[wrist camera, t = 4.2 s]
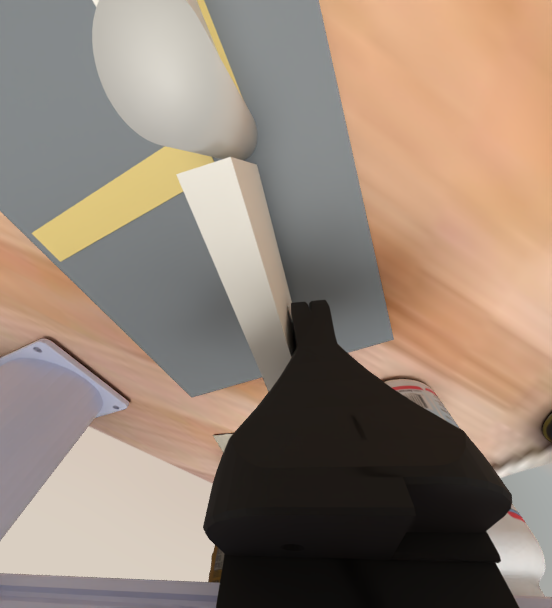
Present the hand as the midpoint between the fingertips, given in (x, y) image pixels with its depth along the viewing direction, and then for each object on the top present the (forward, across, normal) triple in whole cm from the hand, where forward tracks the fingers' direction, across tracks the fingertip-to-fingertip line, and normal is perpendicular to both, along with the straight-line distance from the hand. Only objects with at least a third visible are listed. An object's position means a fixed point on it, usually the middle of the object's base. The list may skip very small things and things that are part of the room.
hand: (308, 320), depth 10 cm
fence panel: (+2, +1, -1) cm, 3 cm away
